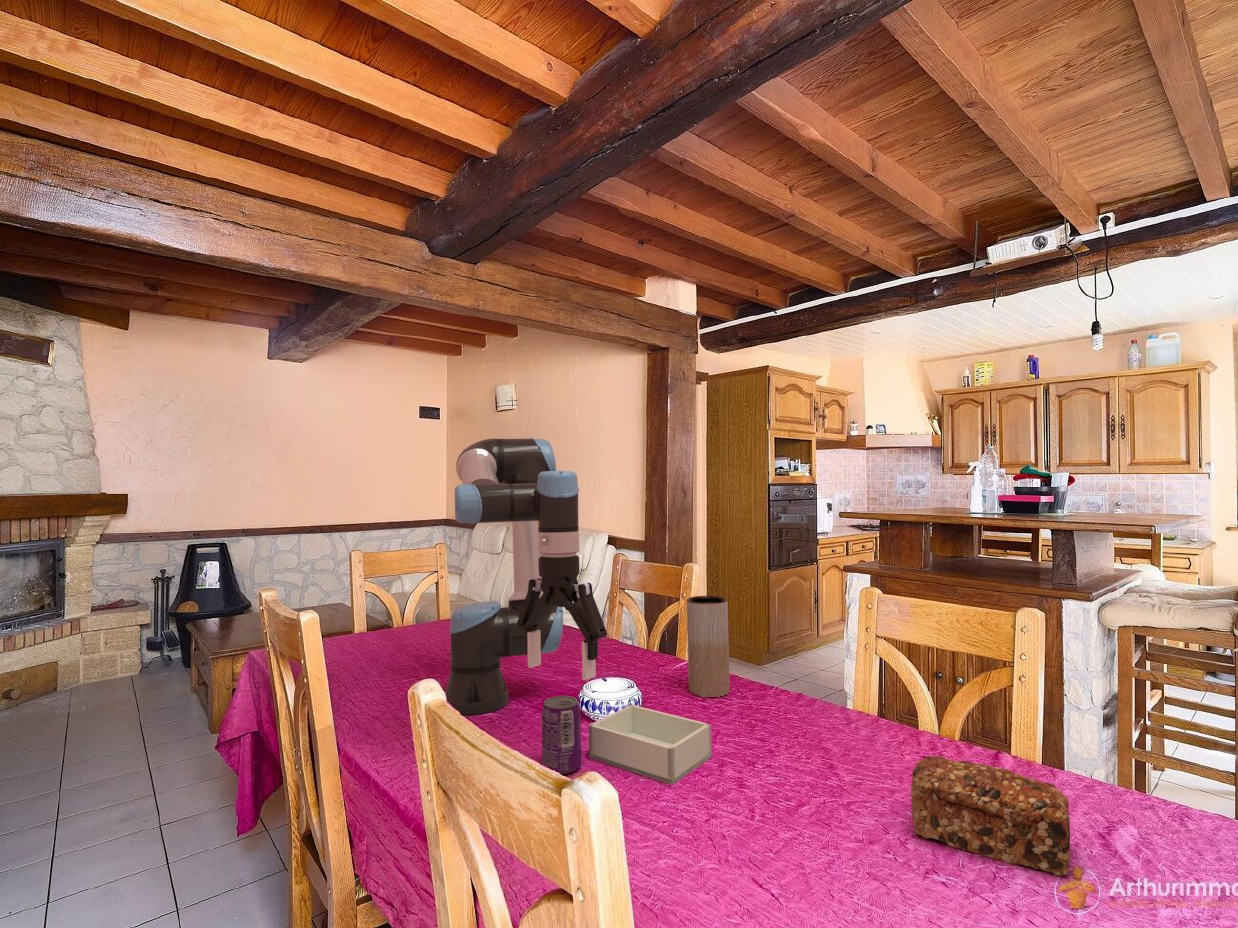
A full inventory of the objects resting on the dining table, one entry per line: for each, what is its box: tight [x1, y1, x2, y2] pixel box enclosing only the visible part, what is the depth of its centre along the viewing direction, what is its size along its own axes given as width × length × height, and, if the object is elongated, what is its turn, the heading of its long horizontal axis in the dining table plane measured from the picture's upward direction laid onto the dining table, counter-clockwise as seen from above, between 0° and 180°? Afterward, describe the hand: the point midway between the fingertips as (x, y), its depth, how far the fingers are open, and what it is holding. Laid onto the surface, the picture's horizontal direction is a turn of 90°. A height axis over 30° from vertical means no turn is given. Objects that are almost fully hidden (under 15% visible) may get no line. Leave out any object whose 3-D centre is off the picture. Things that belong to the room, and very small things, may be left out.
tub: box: [588, 704, 713, 786], centre depth 117 cm, size 19×14×6 cm
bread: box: [910, 755, 1071, 876], centre depth 88 cm, size 19×11×10 cm, turn 55°
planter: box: [686, 595, 731, 698], centre depth 153 cm, size 10×10×23 cm
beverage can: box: [541, 695, 582, 775], centre depth 113 cm, size 7×7×12 cm
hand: (560, 671), depth 113 cm, fingers open, 13 cm apart
